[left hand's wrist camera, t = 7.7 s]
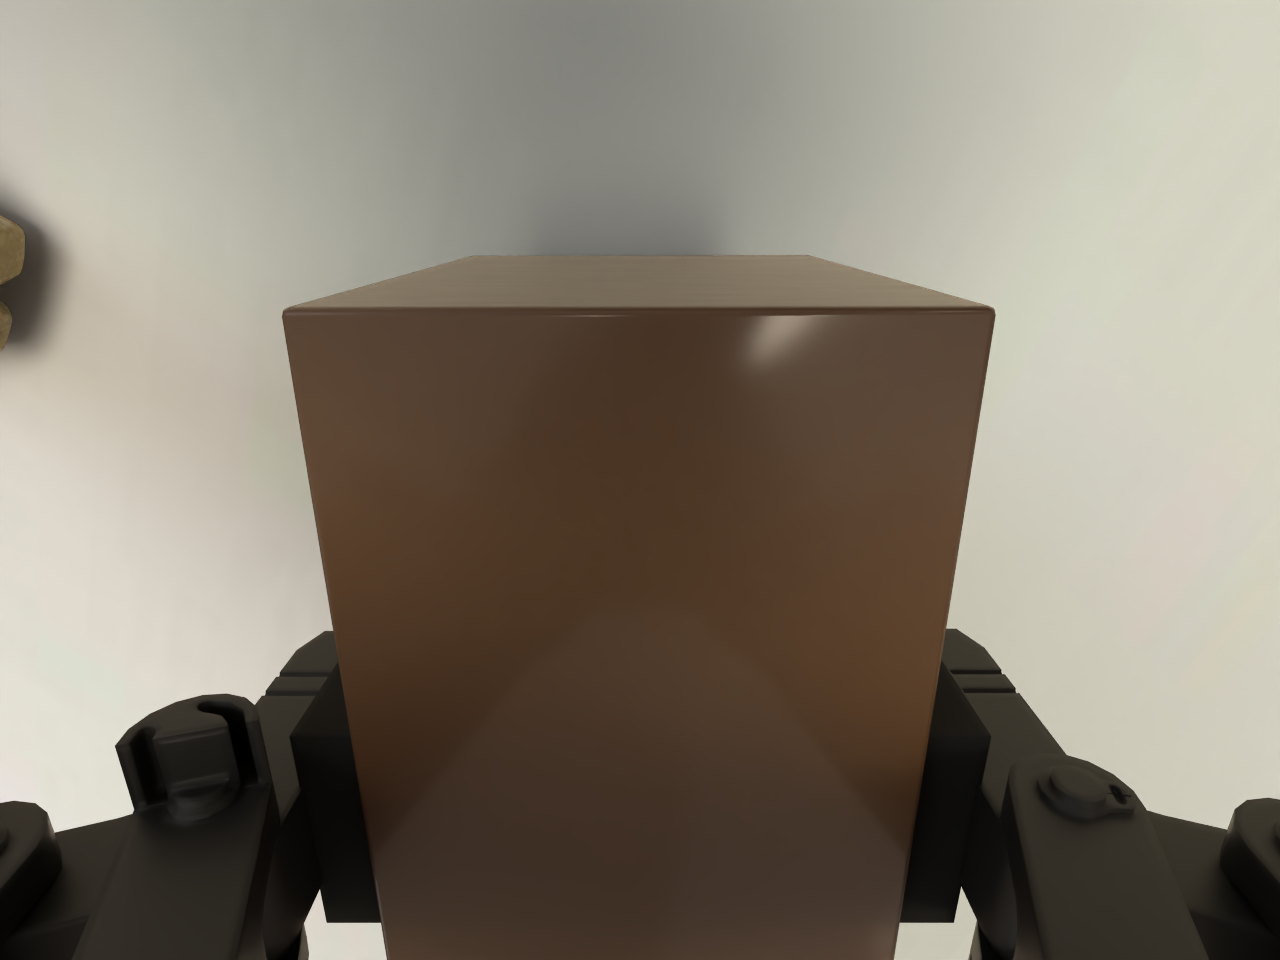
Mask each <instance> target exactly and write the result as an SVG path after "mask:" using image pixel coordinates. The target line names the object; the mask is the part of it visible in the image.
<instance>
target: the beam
mask: <svg viewBox="0 0 1280 960" xmlns="http://www.w3.org/2000/svg"><path fill="white" fill-rule="evenodd" d="M282 319H283V325H284V331H285V337H286V343H287V350H288V356H289V362H290V368H291V374H292V380H293V386H294V392H295V399H296V405H297V411H298V417H299V423H300V429H301V435H302V441H303V448H304V454H305V460H306V466H307V472H308V478H309V484H310V490H311V497H312V503H313V509H314V515H315V521H316V527H317V533H318V539H319V545H320V552H321V558H322V564H323V570H324V576H325V582H326V588H327V594H328V601H329V607H330V613H331V619H332V625H333V631H334V637H335V643H336V650H337V656H338V662H339V668H340V674H341V680H342V686H343V692H344V699H345V705H346V711H347V717H348V723H349V729H350V735H351V741H352V748H353V754H354V760H355V766H356V772H357V778H358V784H359V790H360V796H361V803H362V809H363V815H364V821H365V827H366V833H367V839H368V845H369V852H370V858H371V864H372V870H373V876H374V882H375V888H376V894H377V901H378V907H379V913H380V919H381V925H382V931H383V937H384V943H385V950H386V956H387V960H894V954H895V948H896V942H897V935H898V929H899V923H900V916H901V910H902V904H903V897H904V891H905V885H906V878H907V872H908V866H909V859H910V853H911V847H912V840H913V834H914V828H915V821H916V815H917V809H918V802H919V796H920V790H921V783H922V777H923V771H924V764H925V758H926V752H927V745H928V739H929V733H930V726H931V720H932V714H933V707H934V701H935V695H936V688H937V682H938V676H939V669H940V663H941V657H942V650H943V644H944V638H945V631H946V625H947V619H948V613H949V606H950V600H951V594H952V587H953V581H954V575H955V568H956V562H957V556H958V549H959V543H960V537H961V530H962V524H963V518H964V511H965V505H966V499H967V492H968V486H969V480H970V473H971V467H972V461H973V454H974V448H975V442H976V435H977V429H978V423H979V416H980V410H981V404H982V397H983V391H984V385H985V378H986V372H987V366H988V359H989V353H990V347H991V340H992V334H993V328H994V321H995V310H994V308H992V307H990V306H987V305H984V304H980V303H976V302H973V301H969V300H966V299H962V298H959V297H955V296H952V295H948V294H944V293H941V292H937V291H934V290H930V289H927V288H923V287H920V286H916V285H912V284H909V283H905V282H902V281H898V280H895V279H891V278H887V277H884V276H880V275H877V274H873V273H870V272H866V271H863V270H859V269H855V268H852V267H848V266H845V265H841V264H838V263H834V262H831V261H827V260H823V259H820V258H816V257H813V256H809V255H616V256H470V257H467V258H463V259H460V260H456V261H453V262H449V263H445V264H442V265H438V266H435V267H431V268H427V269H424V270H420V271H417V272H413V273H410V274H406V275H402V276H399V277H395V278H392V279H388V280H385V281H381V282H377V283H374V284H370V285H367V286H363V287H359V288H356V289H352V290H349V291H345V292H342V293H338V294H334V295H331V296H327V297H324V298H320V299H316V300H313V301H309V302H306V303H302V304H299V305H295V306H291V307H289V308H286V309H284V310H283V314H282Z"/></svg>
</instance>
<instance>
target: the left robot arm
mask: <svg viewBox="0 0 1280 960" xmlns="http://www.w3.org/2000/svg"><path fill="white" fill-rule="evenodd" d="M1015 689H1016V688H1015V687H1014V686H1013V685H1012V683H1011V682H1010V681H1009V679H1008V678H1007V677H1006V675H1005V674H1002V673H1001V669H1000V668H999V666H998V665H997V664H996V662H995V661H994V660H993V658H992V657H991V656H990V655H989V653H988V652H987V651H986V649H985V648H984V647H982V646H981V645H979V644H978V643H977V642H975V641H974V640H972V639H971V638H969V637H968V636H966V635H965V634H963V633H962V632H960V631H959V630H957V629H946V631H945V638H944V644H943V650H942V657H941V663H940V669H939V676H938V682H937V688H936V695H935V701H934V707H933V714H932V720H931V726H930V733H929V739H928V745H927V752H926V758H925V764H924V771H923V777H922V783H921V790H920V796H919V802H918V809H917V815H916V821H915V828H914V834H913V840H912V847H911V853H910V859H909V866H908V872H907V878H906V885H905V891H904V897H903V904H902V910H901V916H900V923H954V919H955V914H956V909H957V904H958V899H959V894H960V889H961V886H962V889H963V891H964V893H965V895H966V897H967V899H968V901H969V904H970V906H971V908H972V910H973V912H974V914H975V916H976V919H977V922H976V927H975V932H974V936H973V941H972V945H971V950H970V955H969V959H968V960H1280V800H1278V799H1272V798H1262V799H1253V800H1246V801H1245V802H1244V803H1243V804H1241V805H1240V806H1239V807H1237V808H1236V809H1235V810H1234V813H1233V816H1232V819H1231V822H1230V824H1229V827H1228V830H1226V829H1221V828H1217V827H1212V826H1208V825H1204V824H1199V823H1195V822H1190V821H1186V820H1182V819H1177V818H1173V817H1168V816H1164V815H1161V814H1157V813H1154V812H1151V811H1147V810H1146V808H1145V807H1144V805H1143V804H1142V802H1141V801H1140V800H1139V798H1138V797H1137V795H1136V794H1135V792H1134V791H1133V790H1132V789H1131V788H1129V787H1128V786H1127V785H1126V784H1124V783H1123V782H1122V781H1121V780H1120V779H1118V778H1117V777H1116V776H1115V775H1113V774H1112V773H1110V772H1108V771H1106V770H1104V769H1102V768H1100V767H1098V766H1096V765H1094V764H1092V763H1090V762H1088V761H1085V760H1081V759H1078V758H1074V757H1071V756H1068V755H1066V754H1065V752H1064V751H1063V750H1062V748H1061V747H1060V746H1059V744H1058V743H1057V742H1056V741H1055V739H1054V738H1053V737H1052V735H1051V734H1050V733H1049V731H1048V730H1047V729H1046V728H1045V726H1044V725H1043V724H1042V722H1041V721H1040V720H1039V718H1038V717H1037V716H1036V714H1035V713H1034V712H1033V711H1032V709H1031V708H1030V707H1029V705H1028V704H1027V703H1026V701H1025V700H1024V699H1023V698H1022V696H1021V695H1020V694H1019V693H1016V691H1015ZM115 748H116V751H117V754H118V757H119V761H120V764H121V767H122V771H123V774H124V777H125V780H126V784H127V787H128V790H129V794H130V797H131V800H132V803H133V807H134V812H133V814H131V815H127V816H124V817H121V818H117V819H113V820H109V821H104V822H100V823H95V824H91V825H87V826H82V827H78V828H73V829H69V830H65V831H60V832H56V833H54V830H53V828H52V825H51V822H50V819H49V816H48V814H47V812H46V811H44V810H43V809H42V808H41V807H39V806H38V805H37V804H36V803H28V802H19V801H10V802H4V803H0V960H308V957H309V950H308V943H307V936H306V932H305V927H304V922H305V920H306V917H307V915H308V913H309V911H310V909H311V907H312V904H313V902H314V900H315V898H316V896H317V894H318V892H319V889H320V891H321V896H322V901H323V906H324V911H325V916H326V921H327V923H381V919H380V913H379V907H378V901H377V894H376V888H375V882H374V876H373V870H372V864H371V858H370V852H369V845H368V839H367V833H366V827H365V821H364V815H363V809H362V803H361V796H360V790H359V784H358V778H357V772H356V766H355V760H354V754H353V748H352V741H351V735H350V729H349V723H348V717H347V711H346V705H345V699H344V692H343V686H342V680H341V674H340V668H339V662H338V656H337V650H336V643H335V637H334V631H324V632H323V633H321V634H320V635H318V636H317V637H315V638H314V639H313V640H311V641H310V642H308V643H307V644H305V645H304V646H302V647H301V648H299V649H298V650H297V651H296V652H295V653H294V655H293V656H292V657H291V658H290V660H289V661H288V662H287V664H286V665H285V666H284V668H283V669H282V670H281V672H280V676H279V677H276V678H275V679H274V681H273V682H272V683H271V685H270V686H269V687H268V689H267V690H266V694H265V696H262V697H261V698H260V699H259V700H258V702H257V703H256V704H255V705H254V704H253V703H251V702H250V701H249V700H248V699H247V698H245V697H240V696H235V695H231V694H214V695H201V696H198V697H194V698H190V699H186V700H182V701H178V702H175V703H173V704H171V705H169V706H166V707H164V708H162V709H160V710H158V711H155V712H153V713H151V714H149V715H148V716H146V717H145V718H144V719H142V720H141V721H139V722H138V723H136V724H135V725H134V726H132V727H131V728H129V729H128V730H127V732H126V733H125V734H124V735H123V737H122V738H121V739H120V740H119V742H118V743H117V744H116V745H115Z"/></svg>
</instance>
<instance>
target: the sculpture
mask: <svg viewBox="0 0 1280 960" xmlns="http://www.w3.org/2000/svg"><path fill="white" fill-rule="evenodd" d="M24 257H25V235H24V232H23V230H22V229H21V227H19V226H18V225H17V224H15V223H14V222H12V221H10V220H8V219H6V218H5V217H3V216H1V215H0V285H2V284H4V283H5V282H7V281H9V280H10V279H12V278H14V277H15V276H17V275H19V274H20V273H21V271H22V267H23V262H24ZM11 325H12V315H11V312H10V310H9V309H8V307H7V306H6V305H5V304H3V303H2V302H0V351H2V349H3V348H4V346H5V344H6V342H7V338H8V335H9V332H10V328H11Z"/></svg>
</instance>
